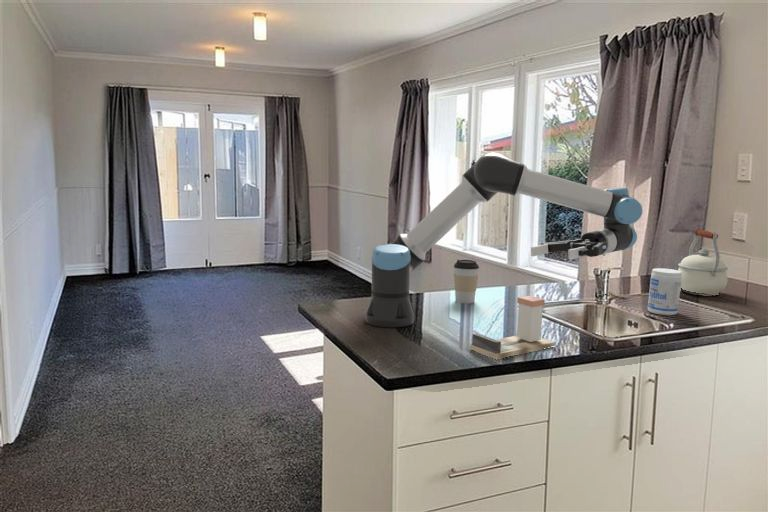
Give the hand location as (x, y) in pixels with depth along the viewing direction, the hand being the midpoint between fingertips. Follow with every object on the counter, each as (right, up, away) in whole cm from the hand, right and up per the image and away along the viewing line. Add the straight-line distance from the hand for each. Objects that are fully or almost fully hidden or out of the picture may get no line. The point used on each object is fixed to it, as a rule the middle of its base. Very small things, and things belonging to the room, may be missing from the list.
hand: (550, 253), depth 180 cm
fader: (-7, -24, -5) cm, 25 cm away
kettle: (+79, -16, +74) cm, 109 cm away
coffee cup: (-18, -17, +48) cm, 54 cm away
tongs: (+41, -17, +64) cm, 77 cm away
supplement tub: (+49, -20, +38) cm, 65 cm away
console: (-12, -26, -8) cm, 30 cm away
